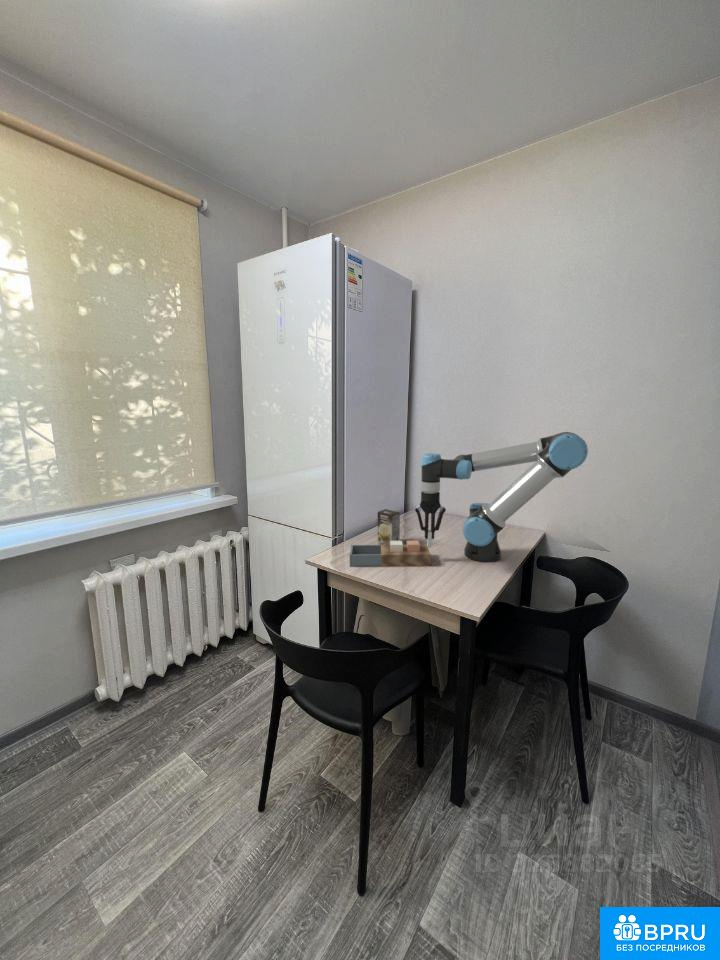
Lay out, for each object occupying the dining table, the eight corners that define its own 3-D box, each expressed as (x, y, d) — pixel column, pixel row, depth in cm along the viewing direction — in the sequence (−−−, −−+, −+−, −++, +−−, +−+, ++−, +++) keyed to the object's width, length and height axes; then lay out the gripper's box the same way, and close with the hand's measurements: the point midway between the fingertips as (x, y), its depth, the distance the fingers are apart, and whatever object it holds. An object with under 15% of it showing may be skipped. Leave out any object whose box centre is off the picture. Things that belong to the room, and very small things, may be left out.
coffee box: (377, 544, 184) (376, 511, 181) (385, 540, 189) (385, 508, 186) (392, 548, 178) (391, 514, 175) (400, 544, 182) (400, 511, 179)
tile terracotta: (418, 547, 165) (418, 540, 164) (419, 551, 160) (419, 544, 159) (406, 547, 165) (406, 540, 164) (407, 551, 160) (407, 544, 159)
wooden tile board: (426, 555, 169) (426, 544, 168) (430, 566, 157) (430, 554, 156) (380, 555, 170) (380, 544, 169) (381, 566, 158) (381, 555, 157)
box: (380, 555, 170) (380, 544, 169) (381, 566, 158) (381, 555, 157) (351, 555, 170) (351, 545, 169) (349, 566, 158) (349, 555, 157)
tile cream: (401, 547, 165) (401, 540, 164) (402, 551, 160) (402, 544, 159) (390, 547, 165) (390, 540, 165) (390, 551, 160) (390, 544, 160)
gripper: (444, 489, 161) (443, 542, 165) (413, 489, 161) (412, 542, 166) (448, 493, 154) (446, 549, 158) (415, 493, 154) (414, 549, 159)
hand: (429, 545), depth 162 cm, fingers closed
